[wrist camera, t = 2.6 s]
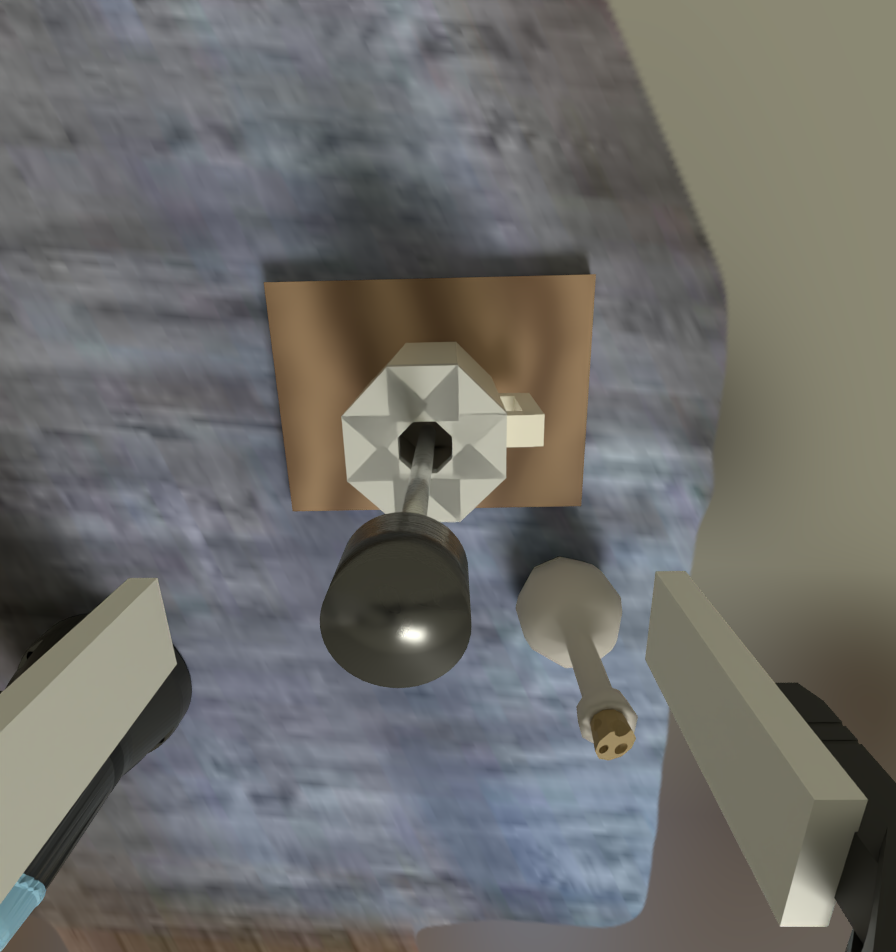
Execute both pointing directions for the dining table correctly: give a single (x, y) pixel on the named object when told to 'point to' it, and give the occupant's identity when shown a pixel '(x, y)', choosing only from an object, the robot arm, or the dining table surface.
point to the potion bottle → (580, 643)
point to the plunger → (400, 592)
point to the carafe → (456, 423)
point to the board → (432, 320)
